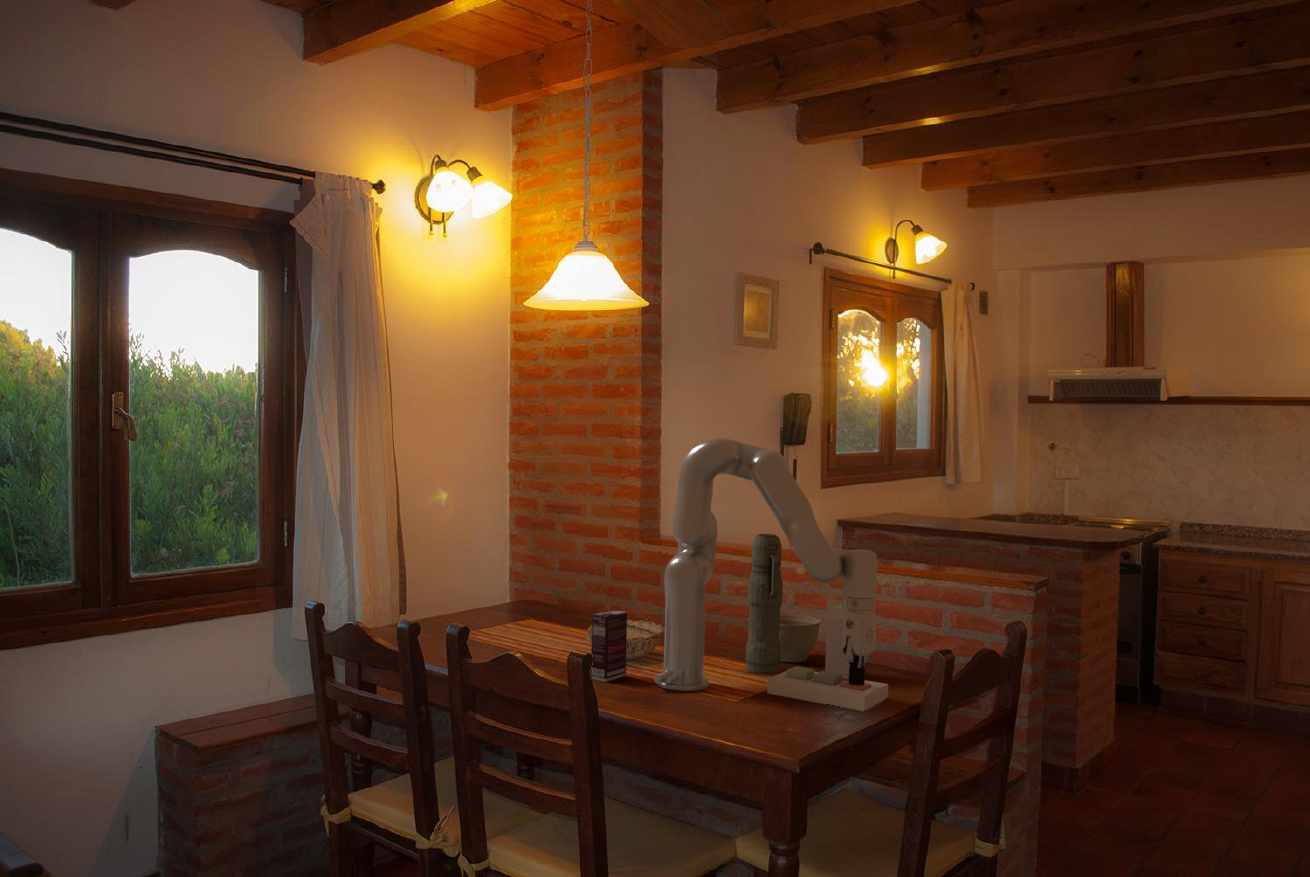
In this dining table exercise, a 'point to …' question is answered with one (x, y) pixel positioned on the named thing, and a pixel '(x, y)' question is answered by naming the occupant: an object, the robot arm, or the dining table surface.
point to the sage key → (800, 673)
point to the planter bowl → (797, 637)
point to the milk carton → (835, 640)
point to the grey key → (827, 678)
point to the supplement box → (609, 645)
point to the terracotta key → (856, 686)
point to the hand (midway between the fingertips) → (856, 684)
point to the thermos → (764, 606)
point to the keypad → (828, 692)
